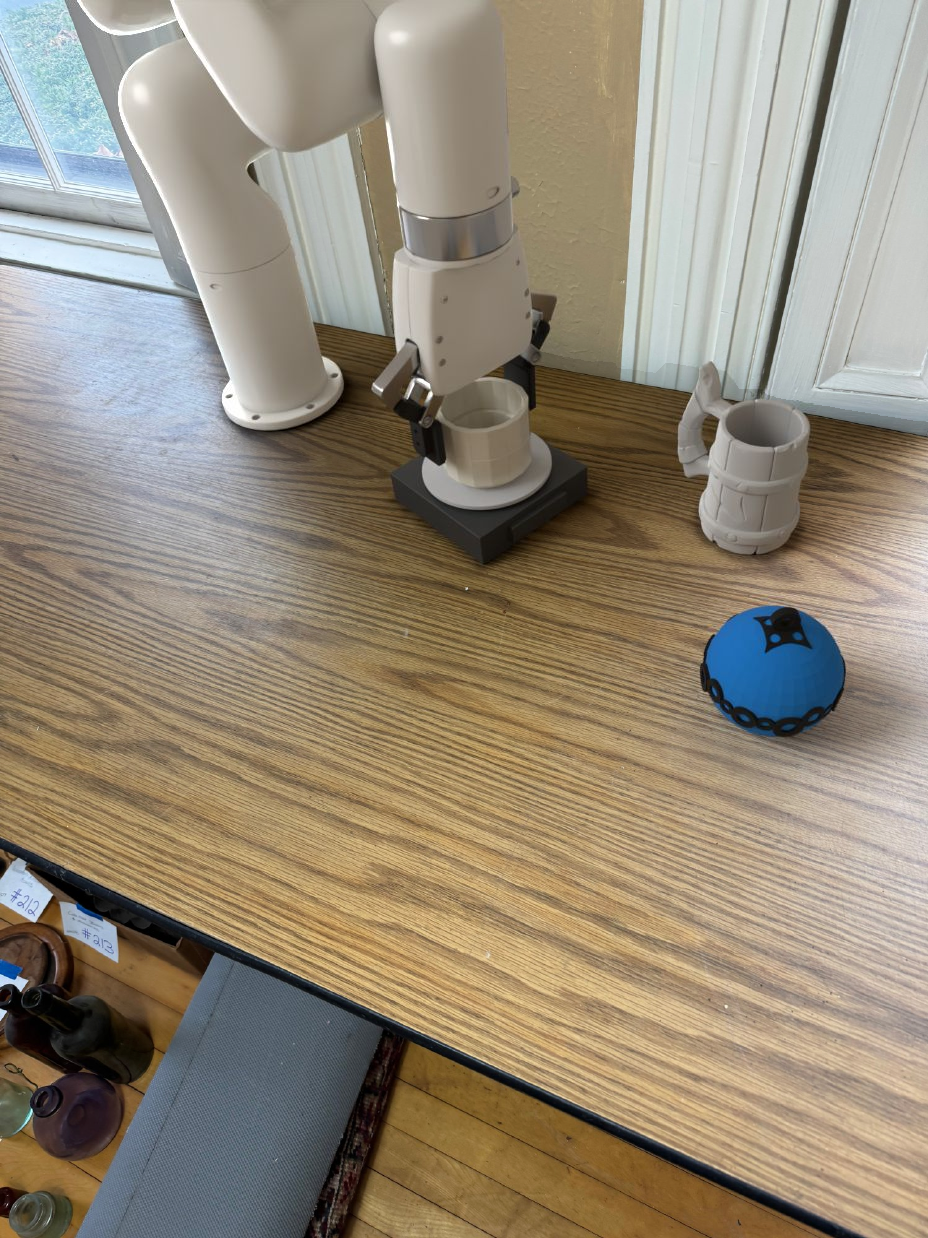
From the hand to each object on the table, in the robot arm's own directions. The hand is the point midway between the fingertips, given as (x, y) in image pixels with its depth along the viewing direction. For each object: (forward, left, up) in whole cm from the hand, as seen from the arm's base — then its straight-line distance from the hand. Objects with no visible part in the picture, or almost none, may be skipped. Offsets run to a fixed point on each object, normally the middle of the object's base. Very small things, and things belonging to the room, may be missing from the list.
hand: (477, 429), depth 70 cm
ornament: (+31, -2, -7) cm, 31 cm away
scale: (+1, 0, -7) cm, 7 cm away
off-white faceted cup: (+1, 0, -3) cm, 3 cm away
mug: (+17, +12, -7) cm, 22 cm away
